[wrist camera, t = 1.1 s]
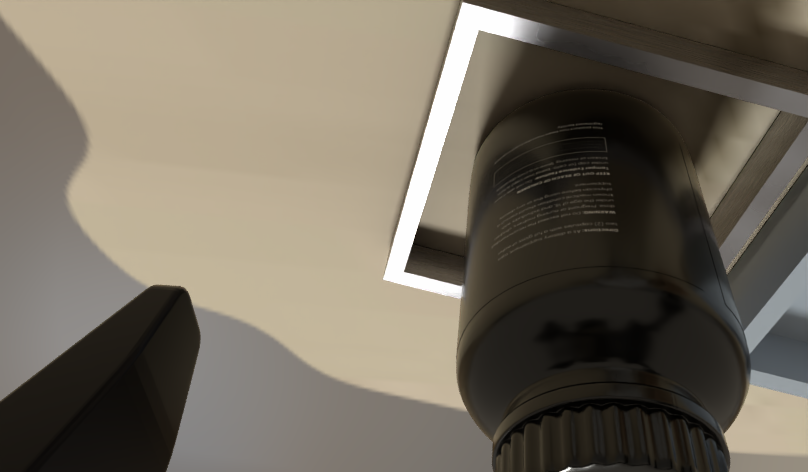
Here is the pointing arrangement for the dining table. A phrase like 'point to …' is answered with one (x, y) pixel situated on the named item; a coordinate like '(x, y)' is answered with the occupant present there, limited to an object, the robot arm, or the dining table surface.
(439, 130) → the grey square frame
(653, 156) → the supplement bottle
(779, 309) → the parts tray
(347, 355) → the dining table surface
